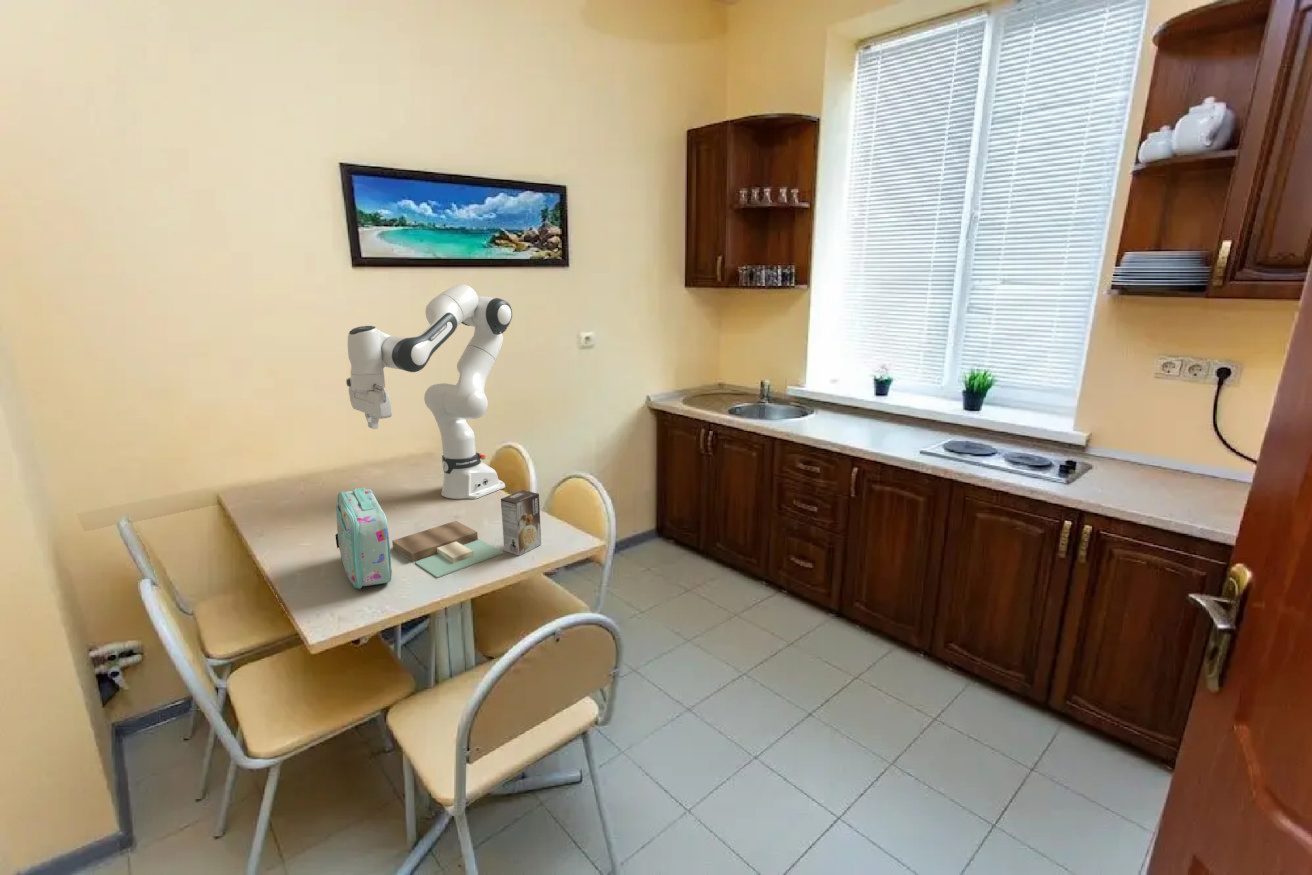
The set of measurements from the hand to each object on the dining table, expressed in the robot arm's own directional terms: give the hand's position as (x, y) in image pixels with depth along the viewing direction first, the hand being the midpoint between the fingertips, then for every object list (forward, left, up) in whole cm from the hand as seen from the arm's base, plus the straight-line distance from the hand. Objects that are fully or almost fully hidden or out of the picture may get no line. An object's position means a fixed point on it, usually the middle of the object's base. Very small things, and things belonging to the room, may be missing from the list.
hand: (373, 428), depth 181 cm
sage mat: (-4, +38, -31) cm, 49 cm away
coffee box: (-20, +45, -31) cm, 58 cm away
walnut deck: (-4, +25, -31) cm, 40 cm away
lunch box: (+17, +27, -31) cm, 45 cm away
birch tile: (-4, +36, -30) cm, 47 cm away
